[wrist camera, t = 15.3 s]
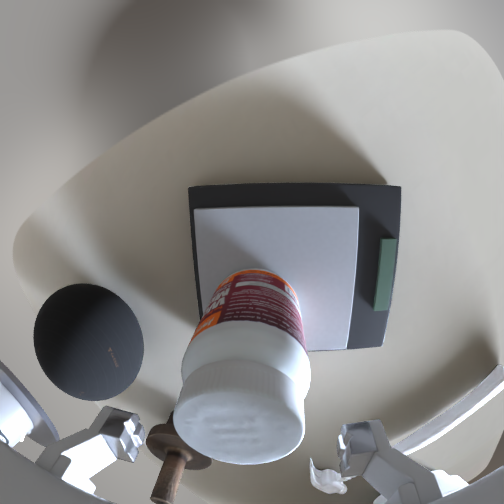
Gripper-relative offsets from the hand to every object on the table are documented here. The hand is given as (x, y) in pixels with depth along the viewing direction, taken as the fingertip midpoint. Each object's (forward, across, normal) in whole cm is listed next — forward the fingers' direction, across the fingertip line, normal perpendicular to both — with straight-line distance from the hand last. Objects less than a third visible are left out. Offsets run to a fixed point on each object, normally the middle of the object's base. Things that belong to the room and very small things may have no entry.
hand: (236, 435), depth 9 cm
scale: (+14, -3, -2) cm, 14 cm away
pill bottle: (+11, 0, 0) cm, 11 cm away
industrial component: (+14, +9, +17) cm, 24 cm away
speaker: (+14, +14, +3) cm, 20 cm away
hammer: (+14, -20, +21) cm, 32 cm away
